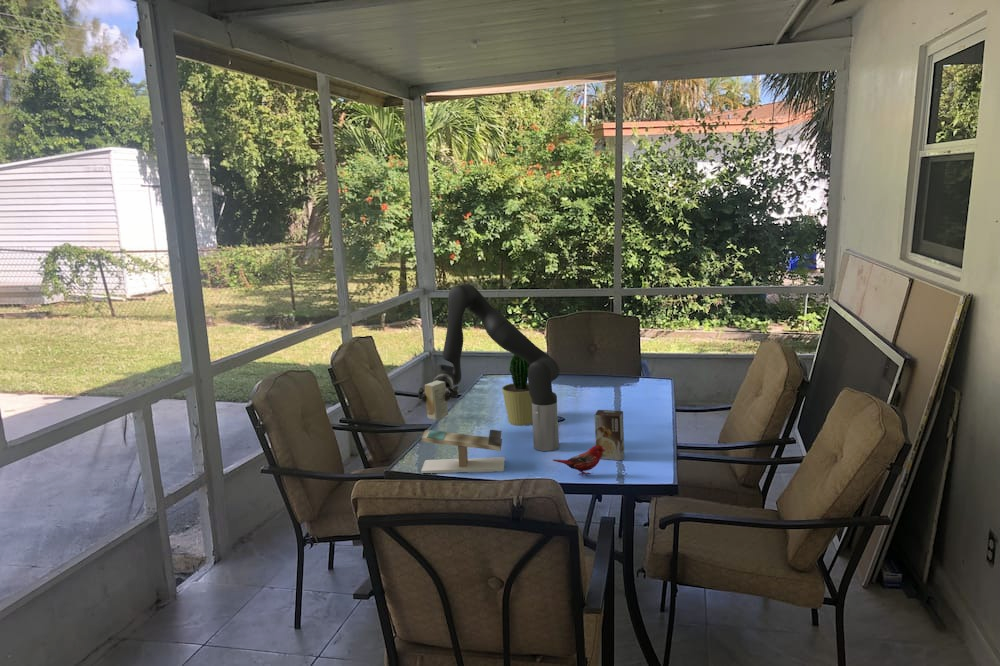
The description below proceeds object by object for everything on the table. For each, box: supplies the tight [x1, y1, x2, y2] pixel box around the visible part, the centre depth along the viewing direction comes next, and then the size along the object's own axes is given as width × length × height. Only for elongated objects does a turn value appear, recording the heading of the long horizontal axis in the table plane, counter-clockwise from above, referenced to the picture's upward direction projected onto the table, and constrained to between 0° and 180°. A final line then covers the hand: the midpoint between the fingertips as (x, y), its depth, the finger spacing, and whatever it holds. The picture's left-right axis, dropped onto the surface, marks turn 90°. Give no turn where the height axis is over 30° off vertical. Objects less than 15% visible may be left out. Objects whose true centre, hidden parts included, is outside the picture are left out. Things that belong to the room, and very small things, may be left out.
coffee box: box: [594, 409, 625, 461], centre depth 233 cm, size 9×6×16 cm
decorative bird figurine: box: [552, 444, 605, 476], centre depth 218 cm, size 3×18×10 cm, turn 95°
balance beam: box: [421, 429, 503, 452], centre depth 230 cm, size 27×8×4 cm, turn 88°
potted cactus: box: [501, 354, 533, 427], centre depth 276 cm, size 15×15×30 cm
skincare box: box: [424, 381, 449, 421], centre depth 231 cm, size 6×4×12 cm
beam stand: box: [420, 446, 506, 475], centre depth 231 cm, size 28×10×8 cm, turn 88°
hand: (435, 398), depth 228 cm, fingers closed on skincare box, 7 cm apart
